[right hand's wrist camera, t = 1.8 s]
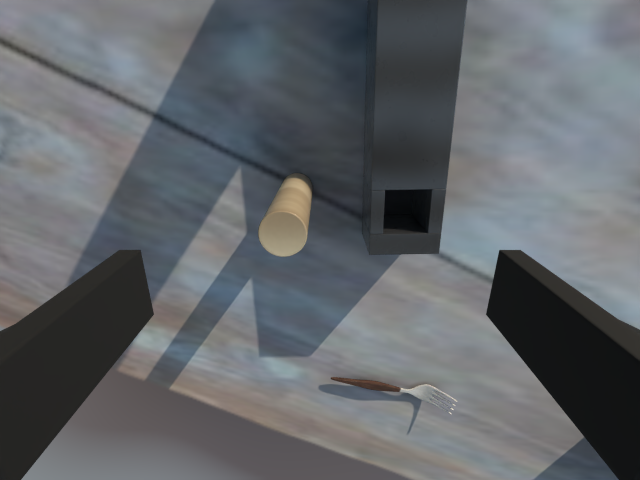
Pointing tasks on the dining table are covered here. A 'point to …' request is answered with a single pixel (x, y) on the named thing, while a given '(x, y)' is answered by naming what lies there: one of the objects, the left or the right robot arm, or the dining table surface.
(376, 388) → the fork
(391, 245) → the peg board
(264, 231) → the peg
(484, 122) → the dining table surface
